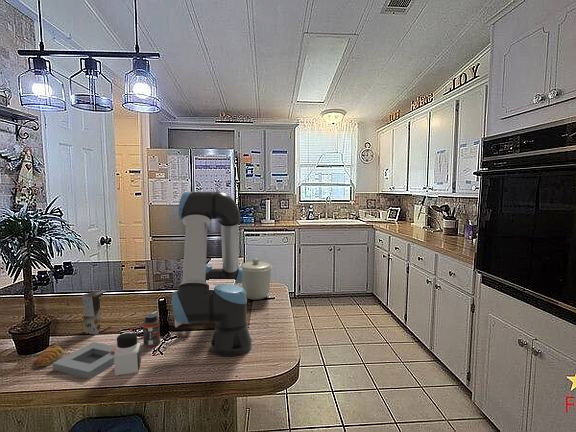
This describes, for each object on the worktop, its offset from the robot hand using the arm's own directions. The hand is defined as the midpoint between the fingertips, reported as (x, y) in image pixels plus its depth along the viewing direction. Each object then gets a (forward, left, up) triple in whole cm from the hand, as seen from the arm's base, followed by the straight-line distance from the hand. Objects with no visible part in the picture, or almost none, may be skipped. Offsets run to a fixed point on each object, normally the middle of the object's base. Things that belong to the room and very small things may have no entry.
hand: (161, 321), depth 139 cm
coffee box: (+30, +3, -7) cm, 30 cm away
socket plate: (+10, +24, -6) cm, 27 cm away
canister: (-15, -57, -7) cm, 59 cm away
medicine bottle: (-5, +23, -7) cm, 25 cm away
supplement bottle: (0, +6, -7) cm, 9 cm away
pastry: (+25, +28, -7) cm, 38 cm away
